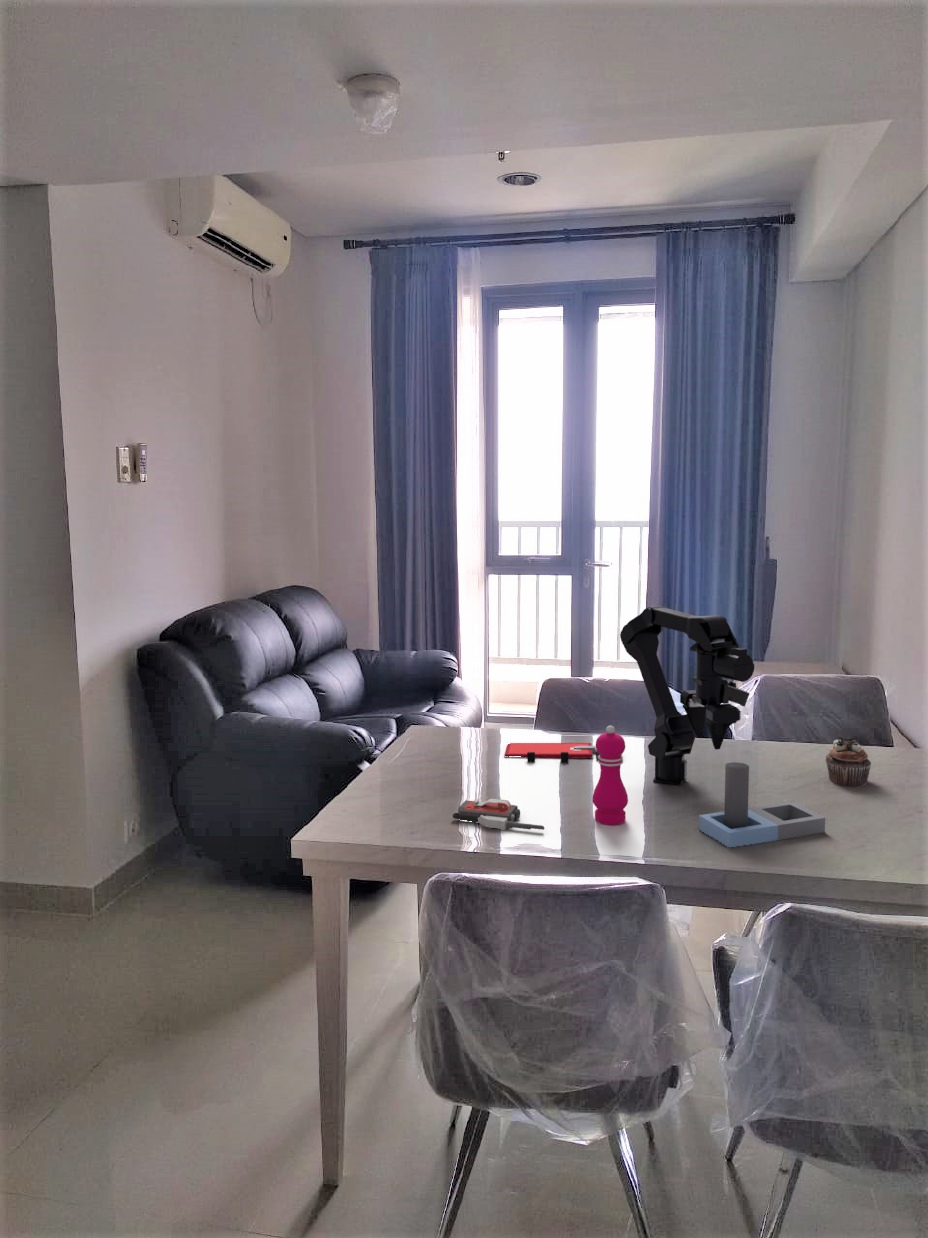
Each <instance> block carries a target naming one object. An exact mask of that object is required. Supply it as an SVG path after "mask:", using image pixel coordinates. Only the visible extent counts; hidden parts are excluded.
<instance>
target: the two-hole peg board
mask: <svg viewBox="0 0 928 1238" xmlns="http://www.w3.org/2000/svg"><path fill="white" fill-rule="evenodd" d="M698 830H699V831H700V830H701V831H700V832H702V833H703V832H704V834H705V835H707V836H708V835H709V837H710V836H711V837H713V838H714V839H713V838H712V839H713V840H715V839H716V840H718V841H719V842H718V841H717V842H718V843H720V842H721V843H722V844H721V843H720V844H721V845H723V844H724V845H725V846H724V845H723V846H724V847H726V846H727V848H728V847H729V848H728V849H731V848H730V847H734V848H737V847H736V846H740V847H744V846H743V845H746V846H751V845H750V844H752V845H758V844H762V843H763V842H764V843H770V842H774V841H782V840H787V839H793V838H799V837H805V836H811V835H818V834H822V833H825V832H826V831H825V830H826V816H823V815H820V814H819V813H816V812H815V811H812V810H810V809H807V808H806V807H804V806H802V805H800V804H798V803H795V802H793V801H790V800H789V801H786V802H779V803H778V802H777V803H773V804H772V803H771V804H763V805H757V806H752V807H748V827H742V828H736V829H730V828H728V827H727V826H725V825H724V811H718V812H712V813H705V814H699V815H698ZM711 837H710V838H711ZM716 840H715V841H716ZM756 843H757V844H756Z"/></svg>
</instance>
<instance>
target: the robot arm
mask: <svg viewBox="0 0 928 1238" xmlns="http://www.w3.org/2000/svg"><path fill="white" fill-rule="evenodd" d="M664 628H665V629H670V630H673V631H677V632H680V633H683V634H685V635H686V636H687V638H688V640H691V641H692V642H694V644H693V645H691V646H690V647H689V650H690V651H691V652H695V653H696V654H695V655H696V656H695V657H696V658H695V661H696V663H695V676H692V682H693V683H695V689H689V690H683V691H682V692H681V693H680V694H679V697H680V698H679V703H680V704H682V708H683V709H684V711H685V713H686V714H682V713H681V712H680V711H678V709H677V707H676V704H675V700H674V698H673V695H672V692H671V690H670V687H669V684H668V682H667V679H666V676H665V672H664V671H663V668H662V664H661V663H660V660H659V656H658V651H659V650H658V649H659V645H660V639H659V636H660V634H661V633H662V632H663V631H664ZM619 638H620V640H621V644H622V645H623V648H624V649H625V651H626V653H627V654H628V655H629V656H631V658H632V659H634V660H635V661H636V663H637V665H638V669H639V671H640V674H641V677H642V680H643V682H644V685H645V689H646V691H647V694H648V697H649V699H650V702H651V705H652V708H653V711H654V713H655V717H656V719H655V724H654V728H653V729H654V730H653V731H654V736H655V737H654V738H653V739H652V740H651V741H650V742H649V744H648V745H647V749H648V750H647V751H648V753H649V755H650V756H653V757H654V778H653V779H652V781H653V783H662V784H668V785H669V784H671V785H677V786H679V785H682V783H683V782H684V781H685V780H686V778H687V774H688V772H687V769H688V761H687V760H686V759H685V755H691V752H692V749H693V745H694V744H695V743H694V742H695V740H696V737H697V738H698V739H702V738H703V736H704V730H705V724H706V725H707V728H708V733H709V735H710V738H711V742H712V745H713V748H714V750H720V749H721V748H722V745H723V742H724V739H725V736H726V733H727V731H728V729H729V727H730V726H731V725H733V724H736V723H737V722H739V721H741V718H742V717H741V712H742V711H741V710H740V709H739V708H738V707H737V706H735V705H733V704H731V703H732V702H733V703H735V704H738V705H740V706H741V707H746V704H747V702H748V699H749V696H750V692H748V691H745V690H744V689H741V688H739V687H737V683H736V681H737V682H741V683H745V682H747V681H749V680H750V679H751V678H752V676H753V674H754V672H755V663H754V661H753V658H752V657H751V656H750V655H749V654H748V649H747V648H744V647H742V648H740V646H739V643H738V642H737V641H738V640H737V639H736V637H735V635H734V633H733V630H732V629H731V626H730V625H729V623H728V621H727V618H726V617H725V616H723V615H694V614H690V613H687V612H683V611H679V610H676V609H670V608H668V607H665V606H663V605H658V606H657V605H656V606H648V607H646V608H644V609H643V611H642V612H641V613H640V614H638V615H637V616H635V617H634V618H632V619H631V620H629V621H628V622H627V623H626V624H625V625H624V626H623V627H622V629H621V631H620V634H619ZM732 680H733V681H732ZM734 681H735V682H734ZM729 702H731V703H729Z"/></svg>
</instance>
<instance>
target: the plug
mask: <svg viewBox="0 0 928 1238" xmlns="http://www.w3.org/2000/svg"><path fill="white" fill-rule="evenodd" d="M724 767H725V771H724V772H725V773H724V808H723V809H724V811H723V812H724V825H725V826H727V827H728V828H730V829H736V828H742V827H748V808H749V786H750V785H749V784H750V783H749V782H750V765H748V764H747V763H744V762H743V763H742V762H735V761H733V762H728V763H726V764H725V765H724Z"/></svg>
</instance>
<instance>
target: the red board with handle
mask: <svg viewBox="0 0 928 1238" xmlns="http://www.w3.org/2000/svg"><path fill="white" fill-rule="evenodd" d="M509 743H510V744H508V745H507V744H506V748H505V752H504V757H505V756H521V757H527V758H526V759H527V763H536V759H560V763H561V764H562V763H563V764H564V763H565V764H569V759H593V755H594V754H595V758H596V759H598V756H599V755H600V754H599V753H598V752H597V750H596V745H592V742H509ZM621 756H622V757H623V753H622V754H621Z"/></svg>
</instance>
